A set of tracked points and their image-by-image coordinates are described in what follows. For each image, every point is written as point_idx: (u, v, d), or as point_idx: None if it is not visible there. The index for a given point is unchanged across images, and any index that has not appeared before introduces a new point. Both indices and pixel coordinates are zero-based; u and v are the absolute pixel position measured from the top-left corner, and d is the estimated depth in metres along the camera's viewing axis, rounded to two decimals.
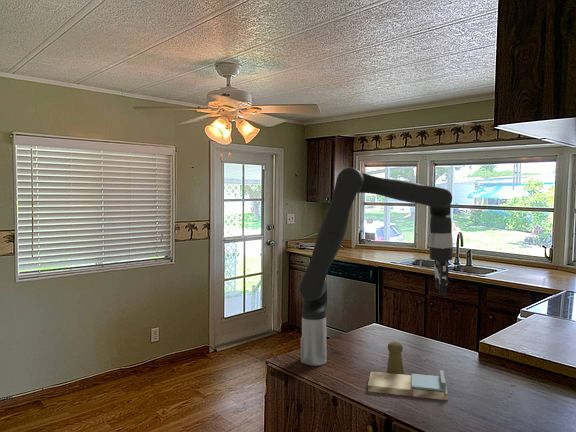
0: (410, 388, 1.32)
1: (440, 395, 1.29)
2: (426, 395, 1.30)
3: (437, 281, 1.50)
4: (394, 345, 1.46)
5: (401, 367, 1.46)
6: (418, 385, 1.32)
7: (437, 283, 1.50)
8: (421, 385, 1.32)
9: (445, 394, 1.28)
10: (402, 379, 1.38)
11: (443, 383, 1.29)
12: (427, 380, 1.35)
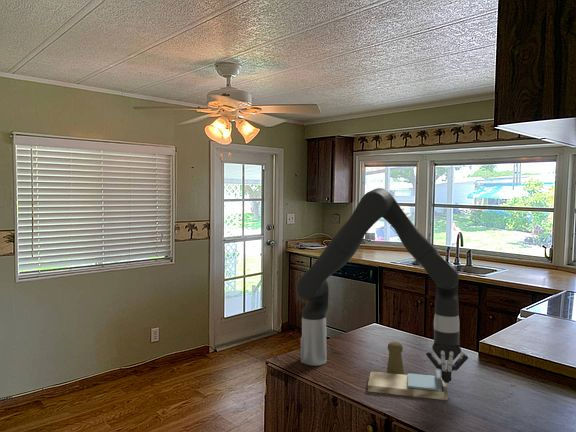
0: (410, 388, 1.32)
1: (440, 395, 1.29)
2: (426, 395, 1.30)
3: None
4: (394, 345, 1.46)
5: (401, 367, 1.46)
6: (414, 385, 1.32)
7: None
8: (417, 384, 1.32)
9: (445, 394, 1.28)
10: (402, 379, 1.38)
11: (439, 383, 1.29)
12: (423, 380, 1.36)
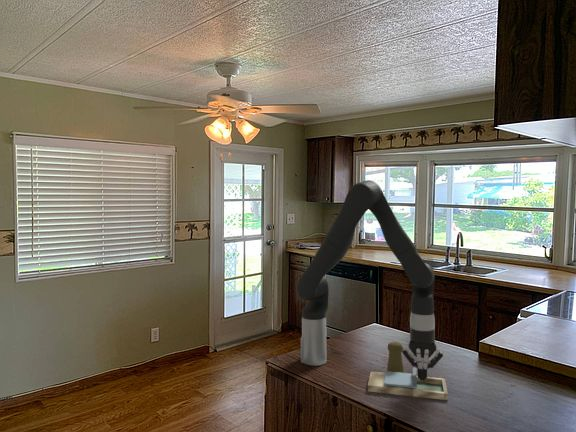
0: (410, 388, 1.32)
1: (440, 395, 1.29)
2: (426, 395, 1.30)
3: None
4: (394, 345, 1.46)
5: (401, 367, 1.46)
6: (390, 382, 1.34)
7: None
8: (394, 382, 1.34)
9: (445, 394, 1.28)
10: None
11: (414, 380, 1.31)
12: (400, 377, 1.38)
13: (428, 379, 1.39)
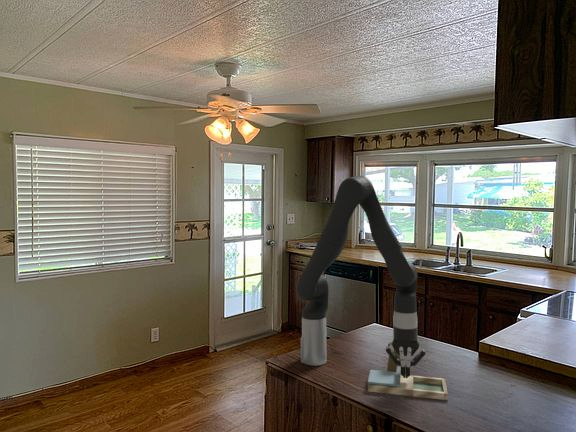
0: (410, 388, 1.32)
1: (440, 395, 1.29)
2: (426, 395, 1.30)
3: None
4: None
5: None
6: (374, 380, 1.36)
7: None
8: (377, 380, 1.36)
9: (445, 394, 1.28)
10: (402, 379, 1.38)
11: (397, 378, 1.33)
12: (384, 376, 1.39)
13: (428, 379, 1.39)
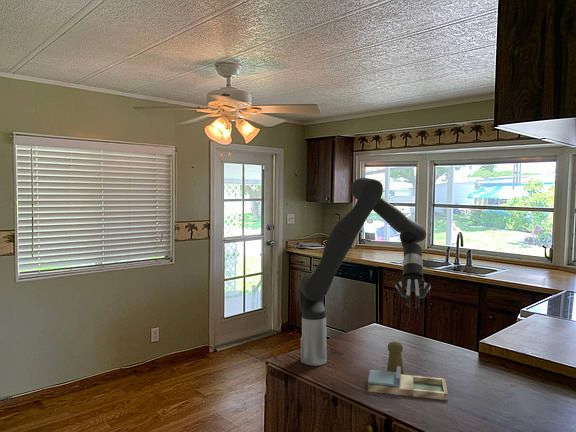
0: (410, 388, 1.32)
1: (440, 395, 1.29)
2: (426, 395, 1.30)
3: None
4: (394, 345, 1.46)
5: (401, 367, 1.46)
6: (374, 380, 1.36)
7: None
8: (377, 380, 1.36)
9: (445, 394, 1.28)
10: (402, 379, 1.38)
11: (397, 378, 1.33)
12: (384, 376, 1.39)
13: (428, 379, 1.39)
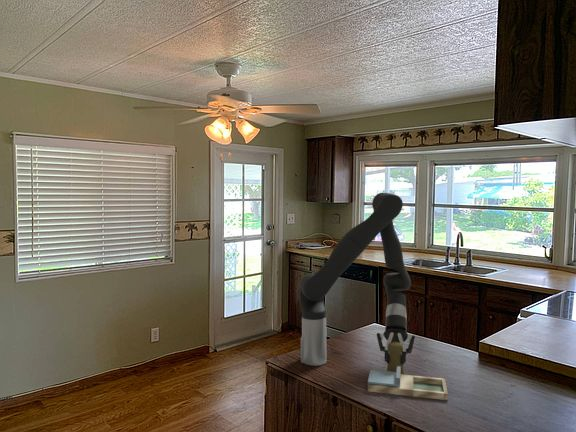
0: (410, 388, 1.32)
1: (440, 395, 1.29)
2: (426, 395, 1.30)
3: (388, 353, 1.48)
4: (394, 345, 1.46)
5: (401, 367, 1.46)
6: (374, 380, 1.36)
7: (388, 355, 1.48)
8: (377, 380, 1.36)
9: (445, 394, 1.28)
10: (402, 379, 1.38)
11: (397, 378, 1.33)
12: (384, 376, 1.39)
13: (428, 379, 1.39)
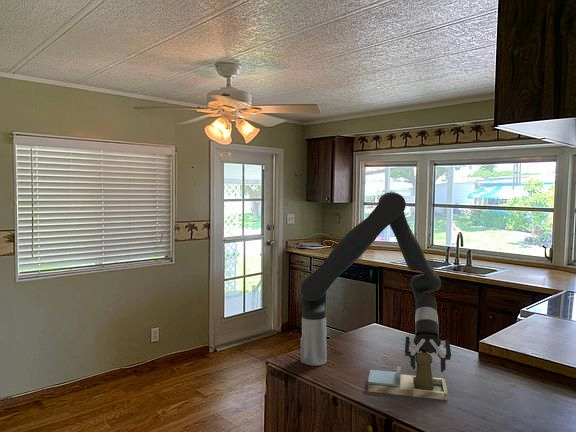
0: (410, 388, 1.32)
1: (440, 395, 1.29)
2: (426, 395, 1.30)
3: None
4: (423, 356, 1.34)
5: (431, 380, 1.35)
6: (374, 380, 1.36)
7: None
8: (377, 380, 1.36)
9: (445, 394, 1.28)
10: (402, 379, 1.38)
11: (397, 378, 1.33)
12: (384, 376, 1.39)
13: None
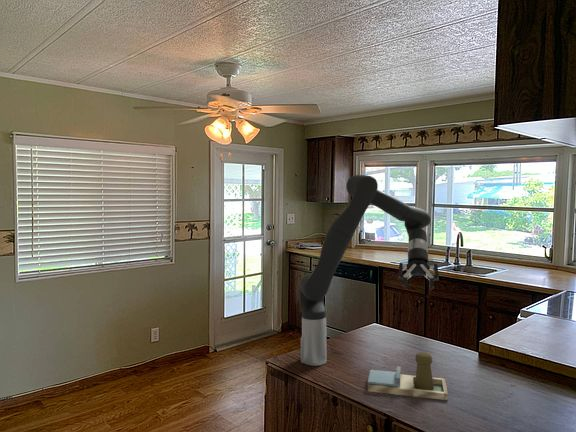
0: (410, 388, 1.32)
1: (440, 395, 1.29)
2: (426, 395, 1.30)
3: None
4: (423, 356, 1.35)
5: (431, 380, 1.35)
6: (374, 380, 1.36)
7: None
8: (377, 380, 1.36)
9: (445, 394, 1.28)
10: (402, 379, 1.38)
11: (397, 378, 1.33)
12: (384, 376, 1.39)
13: None
